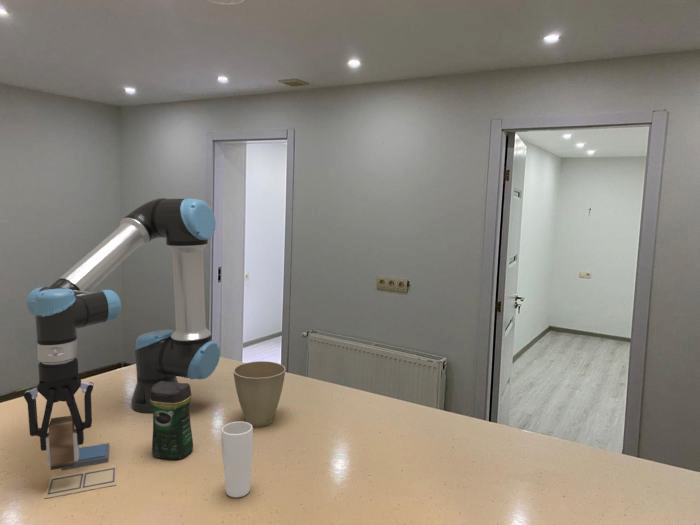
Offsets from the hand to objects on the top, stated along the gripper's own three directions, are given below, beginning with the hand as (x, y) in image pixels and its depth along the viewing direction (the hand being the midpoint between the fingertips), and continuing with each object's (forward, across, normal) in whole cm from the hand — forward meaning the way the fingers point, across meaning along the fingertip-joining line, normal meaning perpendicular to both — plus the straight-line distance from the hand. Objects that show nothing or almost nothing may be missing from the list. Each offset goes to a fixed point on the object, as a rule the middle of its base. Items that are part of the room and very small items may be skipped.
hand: (63, 460), depth 114 cm
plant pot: (+6, +49, +17) cm, 52 cm away
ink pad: (+6, +4, +12) cm, 13 cm away
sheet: (+6, +4, 0) cm, 7 cm away
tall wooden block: (+1, 0, 0) cm, 1 cm away
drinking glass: (+6, +36, -17) cm, 40 cm away
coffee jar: (+6, +24, +7) cm, 25 cm away
